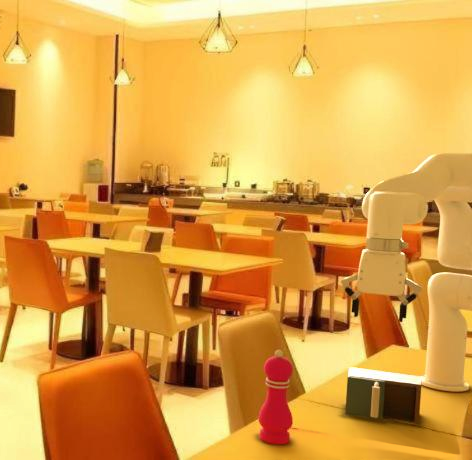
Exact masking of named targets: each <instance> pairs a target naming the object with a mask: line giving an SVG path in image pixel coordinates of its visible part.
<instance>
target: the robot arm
mask: <svg viewBox="0 0 472 460" xmlns="http://www.w3.org/2000/svg"><path fill="white" fill-rule="evenodd" d="M431 201H434V202H435V205H436V207H437V209H438V212H439V220H440V221H439V229H438V230H439V232H438V239H437V240H438V241H437V261H438V263H439V264H440V266H443V267H447V268H450V269H451V268H452V269H457V270H458V269H459V270H466V271H472V207H471V206H470V205H469V203H472V153H471V152H470V153H469V152H467V153H465V152H463V153H461V152H460V153H459V152H457V153H455V152H454V153H453V152H442V153H435V154H432V155H431V156H429V157H427V159H425V160H424V161H423V162H422V163H421V164H420V165H419V166H418V167H417V168H415V169H414V170H413V171H411V172H406V173H404V174H401V175H398V176H395V177H390V178H388V179H384V180H382V181H380V182H378V183H376V184H375V185H374V186H373V187H372V188H371V189H370V190H369V191H368V192H367V193H366V194H365V196H364V197H363V200H362V203H361V212H362V214H363V216H364V218H366V220H367V228H366V229H367V230H366V241H365V249H363V250H362V251H361V255H360V259H359V265H358V271H357V273H355V274H352V275H350V276H347V277H344V278H342V279H341V281H340V283H341V285H342V287H343V289H344V291H345V293H346V294H347V296H349V297H350V299H351V300H352V301H351V313H353V317H354V318H357V317H358V316H360V315H359V314H360V302H361V301H360V300H361V299H360V296H361V295H362V294H370V295H378V296H379V295H381V296H390V297H396V298H398V300H399V301H400V305H399V313H398V322H399V323H403V321H404V319H407V313H408V312H407V311H408V305H409V304H410V303H412V302H413V301H414V300H416V299H417V297H418V296H419V295H420V293H421V291H422V290H423V287H422V286H421V285H419V284H417V283H415V281H413V280H411V279H409V278H407V277H406V271H407V268H406V267H407V265H406V254H405V253H404V252H402V250H405V249H409V242H405V241H404V240H403V232H404V231H403V228H404V225H417V224H419V223H421V222H423V221H424V220H425V218H426V217H427V214H428V211H429V206H428V205H429V204H428V203H429V202H431ZM354 281H356V291H354V290H353V289H352V288H351V286H350V283H352V282H354ZM406 285H407V286H408V287H409V288H410V289H412V290H413V291H412V292H411V294H409V295H408V296H406V294H405V293H404V292H405V289H406ZM427 297H428V308H429V309H428V310H429V311H428V315H429V317H428V329H427V330H428V331H427V344H426V355H425V356H426V358H425V359H426V360H425V373H424V375H420V376H421V385H422V386H424V387H426V388H430V389H433V390H438V391H444V392H453V393H454V392H456V393H457V392H458V393H459V392H460V393H461V392H467V391H469V390H470V384H469V382H467V381H465V380H464V378H465V365H466V352H467V351H466V350H467V337H468V323H467V320H466V317H465V316H464V314H463V313H462V311H461V310H464V311H471V312H472V275H471V274H465V273H456V272H445V271H444V272H438V273H435V274H433V275H431V277H430V278H429V280H428V282H427Z"/></svg>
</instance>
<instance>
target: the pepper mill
mask: <svg viewBox="0 0 472 460" xmlns="http://www.w3.org/2000/svg"><path fill="white" fill-rule="evenodd" d="M283 356H284V352H283V350H281V349H277V350H276V351H275V352H274V356H270V357H269V358H268V359H267V360H266V361H265V363H264V365H263V371H264V374H265V375H266V376H267V377H266V378H265V385H266V386H267V393H266V398H265V401H264V403H263V405H262V406H261V408H260V410H259V412H258V420H257V421H258V423H259V425H260V426H261V428H260V430H259V438H260V440H261V441H263V442H264V443H268V444H272V445H285V444H288V443H289V442H290V439H291V438H290V436H291V433H290V432H289V430H290V429H291V428H292V427H293V424H294V422H293V415H292V411H291V408H290V406H289V403H288V400H287V393H288V389H289V387H290V379H289V378H290V377H291V376H292V375H293V373H294V372H293V371H294V370H293V369H294V368H293V363H292V362H291V361H290V360H289V359H288V358H286V357H283Z"/></svg>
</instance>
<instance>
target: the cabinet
mask: <svg viewBox="0 0 472 460" xmlns="http://www.w3.org/2000/svg"><path fill="white" fill-rule="evenodd" d="M348 376H352V377H360V378H367V379H375V380H382V381H385V387H384V402H383V417H382V419H385V420H392V421H393V420H394V421H398V422H399V421H400V422H407V423H412V424H420V413H421V411H420V410H421V398H422V386H423V385H422V384H421V376H422V375H412V374H406V373H398V372H388V371H382V370H375V369H367V368H358V367H349V370H348V374H347V377H348Z"/></svg>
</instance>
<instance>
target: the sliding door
mask: <svg viewBox="0 0 472 460" xmlns="http://www.w3.org/2000/svg"><path fill="white" fill-rule="evenodd" d="M384 387H385V381H382V380H375V379H367V378H360V377H352V376H348V375H347V379H346V393H345V394H346V395H345V396H346V397H345V409H344V410H345V411H344V414H345V415H349V416H356V417H363V418H369V419H375V420H381V421H382V420H383V418H382V417H383V402H384Z"/></svg>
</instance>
